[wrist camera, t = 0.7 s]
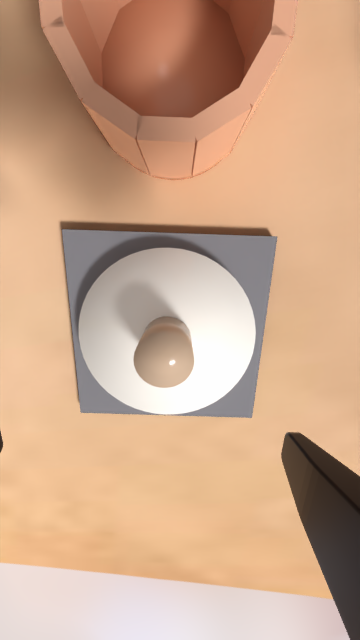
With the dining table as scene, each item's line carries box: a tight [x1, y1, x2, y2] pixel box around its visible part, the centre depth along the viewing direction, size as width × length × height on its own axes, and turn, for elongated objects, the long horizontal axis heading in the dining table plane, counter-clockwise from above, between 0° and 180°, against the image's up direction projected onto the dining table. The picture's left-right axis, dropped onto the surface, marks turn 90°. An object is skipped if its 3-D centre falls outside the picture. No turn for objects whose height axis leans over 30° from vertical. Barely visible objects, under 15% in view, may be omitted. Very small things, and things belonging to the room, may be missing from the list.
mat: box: [62, 229, 277, 418], centre depth 19 cm, size 15×15×1 cm
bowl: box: [39, 0, 298, 180], centre depth 12 cm, size 10×10×6 cm
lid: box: [78, 248, 256, 415], centre depth 16 cm, size 13×13×5 cm
